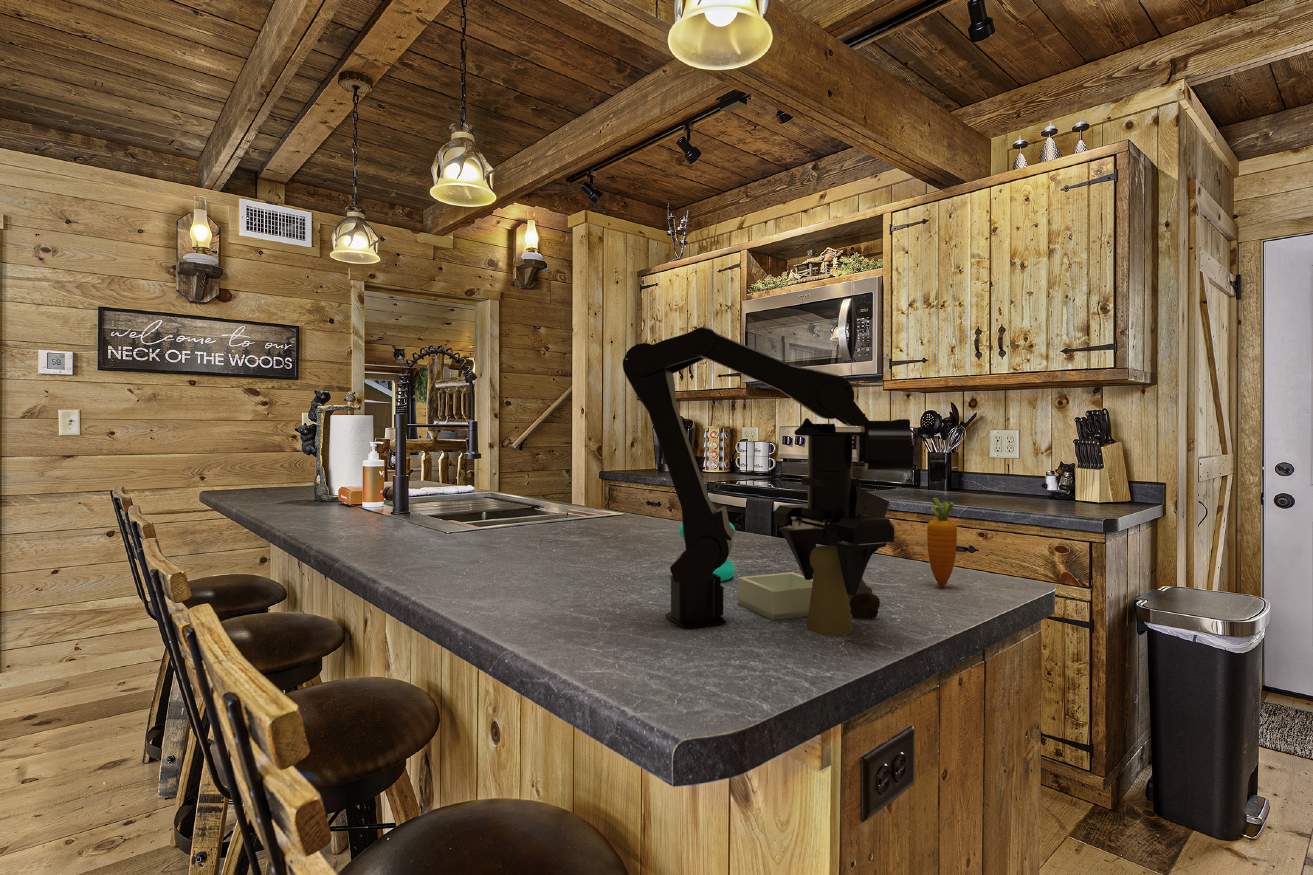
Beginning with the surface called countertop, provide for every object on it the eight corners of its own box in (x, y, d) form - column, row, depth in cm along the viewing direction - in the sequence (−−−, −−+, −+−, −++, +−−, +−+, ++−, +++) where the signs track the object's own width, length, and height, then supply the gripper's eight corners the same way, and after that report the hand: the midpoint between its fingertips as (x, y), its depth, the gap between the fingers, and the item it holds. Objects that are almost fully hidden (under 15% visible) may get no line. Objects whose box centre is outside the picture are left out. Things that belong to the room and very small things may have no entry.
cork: (802, 632, 89) (802, 548, 89) (810, 620, 95) (810, 541, 95) (850, 637, 87) (850, 551, 87) (855, 624, 93) (855, 544, 92)
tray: (773, 620, 95) (773, 591, 95) (738, 603, 104) (738, 577, 104) (831, 612, 98) (831, 585, 98) (792, 597, 107) (792, 572, 107)
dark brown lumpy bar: (879, 621, 95) (880, 588, 95) (850, 619, 96) (850, 586, 96) (866, 590, 114) (867, 563, 113) (841, 589, 114) (842, 561, 114)
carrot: (962, 590, 112) (963, 500, 112) (932, 590, 112) (933, 499, 112) (950, 584, 117) (950, 496, 117) (921, 583, 117) (921, 496, 117)
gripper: (929, 473, 85) (928, 597, 85) (835, 465, 102) (834, 568, 103) (857, 475, 81) (856, 606, 81) (772, 466, 98) (771, 574, 98)
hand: (829, 586), depth 91 cm, fingers open, 9 cm apart
